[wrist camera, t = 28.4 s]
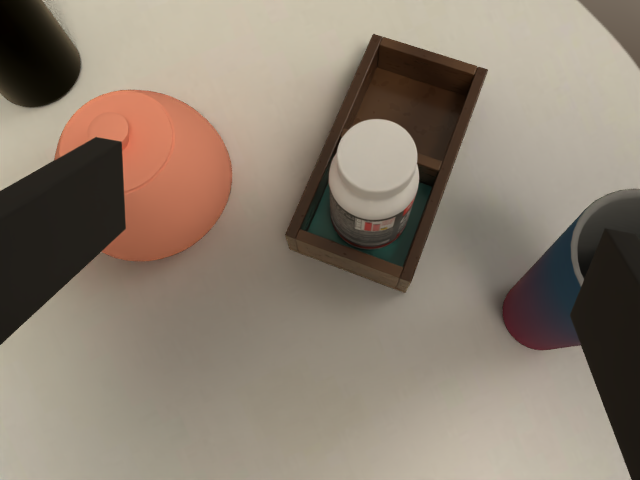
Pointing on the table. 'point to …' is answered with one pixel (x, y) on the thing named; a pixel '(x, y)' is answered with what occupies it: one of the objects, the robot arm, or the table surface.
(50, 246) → the robot arm
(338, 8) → the table surface
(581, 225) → the cup
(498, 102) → the table surface
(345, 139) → the pill bottle
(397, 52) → the divided tray
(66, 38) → the battery
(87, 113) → the sugar bowl
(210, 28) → the table surface
